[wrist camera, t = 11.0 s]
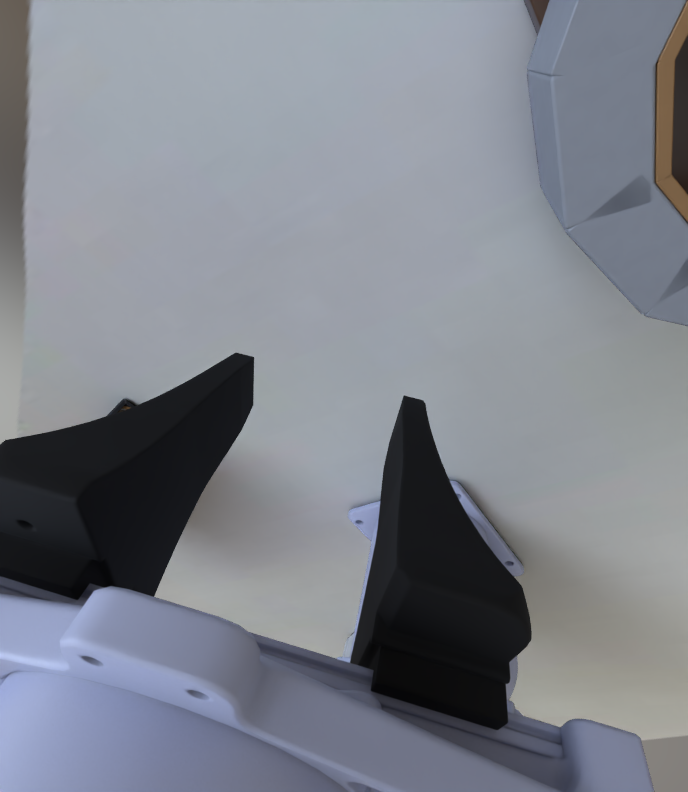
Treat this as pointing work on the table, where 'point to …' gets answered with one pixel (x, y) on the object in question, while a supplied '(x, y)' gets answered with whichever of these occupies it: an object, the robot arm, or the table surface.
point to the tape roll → (615, 142)
